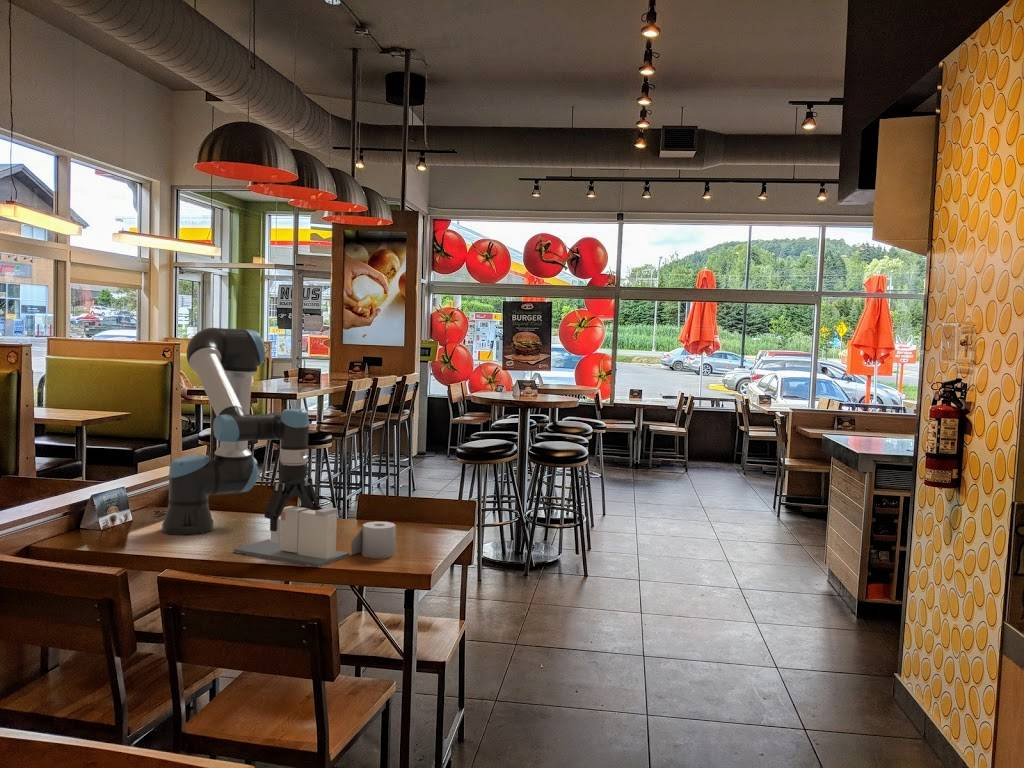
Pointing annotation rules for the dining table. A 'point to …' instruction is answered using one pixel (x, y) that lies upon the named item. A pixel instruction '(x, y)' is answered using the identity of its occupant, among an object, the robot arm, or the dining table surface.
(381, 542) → the toilet tissue
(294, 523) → the white upright block
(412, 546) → the dining table surface
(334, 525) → the grey bookend stand
